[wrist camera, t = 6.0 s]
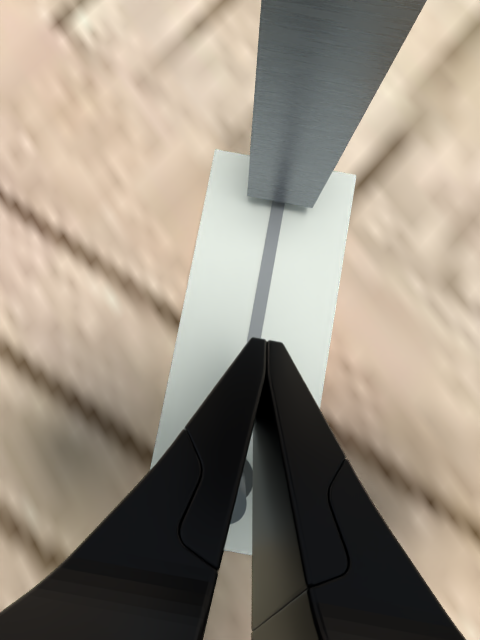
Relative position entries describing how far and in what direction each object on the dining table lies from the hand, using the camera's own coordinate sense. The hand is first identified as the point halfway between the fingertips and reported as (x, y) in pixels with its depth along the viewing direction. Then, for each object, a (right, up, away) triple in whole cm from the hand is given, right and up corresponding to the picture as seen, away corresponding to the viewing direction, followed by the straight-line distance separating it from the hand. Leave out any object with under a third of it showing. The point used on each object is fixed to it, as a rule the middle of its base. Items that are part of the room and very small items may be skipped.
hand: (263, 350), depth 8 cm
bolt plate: (0, 0, +7) cm, 7 cm away
